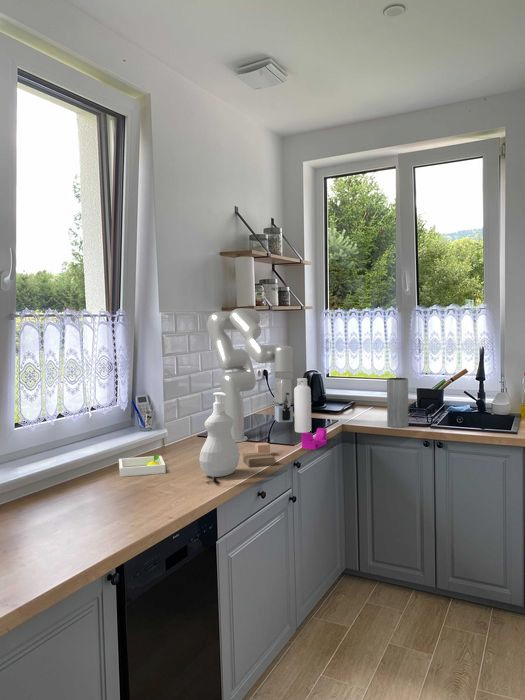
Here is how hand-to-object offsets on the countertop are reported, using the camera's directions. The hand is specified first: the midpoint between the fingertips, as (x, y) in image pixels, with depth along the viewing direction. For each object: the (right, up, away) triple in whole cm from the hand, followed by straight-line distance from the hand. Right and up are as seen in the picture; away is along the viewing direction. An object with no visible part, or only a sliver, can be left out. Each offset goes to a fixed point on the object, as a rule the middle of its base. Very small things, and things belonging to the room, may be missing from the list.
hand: (283, 418), depth 232 cm
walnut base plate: (-10, -15, -16) cm, 25 cm away
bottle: (+11, -13, +37) cm, 41 cm away
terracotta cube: (-9, -15, -4) cm, 18 cm away
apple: (-51, -21, -19) cm, 58 cm away
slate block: (0, -1, 0) cm, 1 cm away
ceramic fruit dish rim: (-54, -16, -24) cm, 61 cm away
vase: (+57, -13, +39) cm, 70 cm away
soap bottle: (-24, -16, -32) cm, 43 cm away
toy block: (+15, -14, +10) cm, 23 cm away
